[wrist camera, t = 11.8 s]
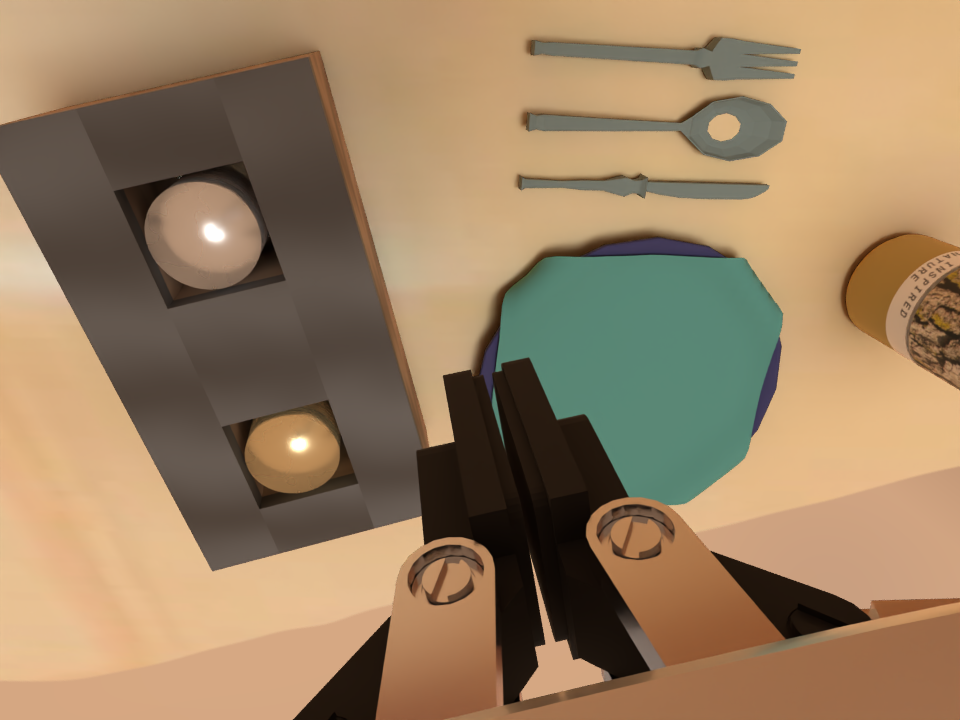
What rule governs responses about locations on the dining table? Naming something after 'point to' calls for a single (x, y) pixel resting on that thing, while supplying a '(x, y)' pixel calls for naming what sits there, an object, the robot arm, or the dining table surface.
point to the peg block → (231, 298)
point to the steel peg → (207, 228)
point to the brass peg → (294, 448)
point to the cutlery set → (656, 304)
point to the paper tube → (911, 301)
